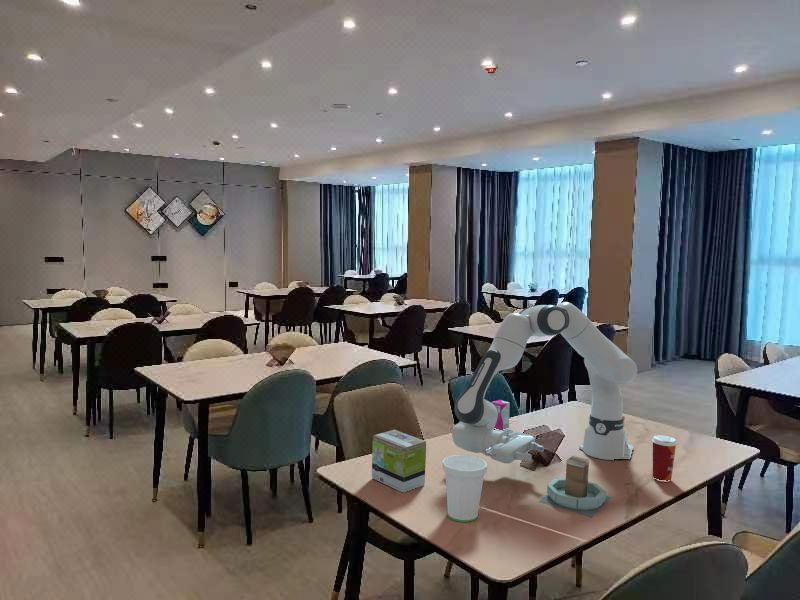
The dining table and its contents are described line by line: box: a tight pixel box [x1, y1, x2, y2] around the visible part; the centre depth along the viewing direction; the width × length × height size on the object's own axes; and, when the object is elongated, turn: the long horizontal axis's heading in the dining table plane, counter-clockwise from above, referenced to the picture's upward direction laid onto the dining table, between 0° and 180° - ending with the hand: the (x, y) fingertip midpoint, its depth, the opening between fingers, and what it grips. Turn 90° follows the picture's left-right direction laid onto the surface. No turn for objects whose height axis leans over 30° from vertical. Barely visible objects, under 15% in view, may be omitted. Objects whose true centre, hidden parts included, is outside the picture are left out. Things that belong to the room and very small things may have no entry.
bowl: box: [546, 477, 607, 510], centre depth 179 cm, size 16×16×3 cm
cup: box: [441, 454, 488, 523], centre depth 166 cm, size 12×12×15 cm
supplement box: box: [490, 399, 510, 430], centre depth 248 cm, size 6×6×12 cm
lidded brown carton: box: [565, 455, 590, 498], centre depth 178 cm, size 5×5×11 cm
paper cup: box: [651, 434, 678, 481], centre depth 198 cm, size 8×8×14 cm
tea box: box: [371, 429, 427, 494], centre depth 188 cm, size 15×10×15 cm, turn 45°
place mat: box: [538, 493, 613, 518], centre depth 179 cm, size 18×16×1 cm
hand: (537, 453), depth 187 cm, fingers open, 8 cm apart
